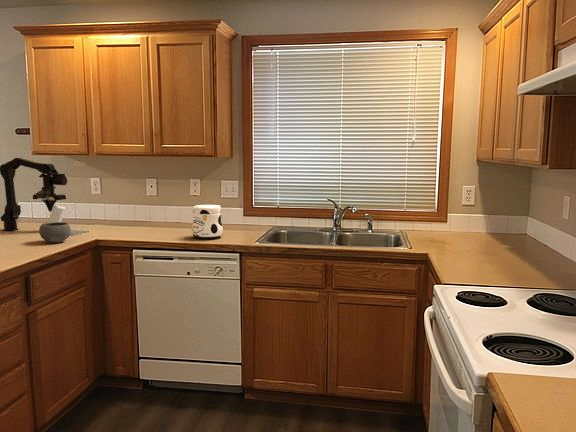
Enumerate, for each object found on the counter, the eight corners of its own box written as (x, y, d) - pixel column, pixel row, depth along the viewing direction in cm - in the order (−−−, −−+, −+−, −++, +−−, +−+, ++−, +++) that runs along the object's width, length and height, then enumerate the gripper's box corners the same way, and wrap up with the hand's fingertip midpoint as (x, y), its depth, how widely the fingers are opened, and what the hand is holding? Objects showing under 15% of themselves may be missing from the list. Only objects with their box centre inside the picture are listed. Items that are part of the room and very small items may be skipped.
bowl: (62, 238, 273) (61, 220, 272) (76, 242, 264) (75, 223, 262) (34, 242, 262) (33, 223, 260) (48, 246, 252) (47, 226, 251)
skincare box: (55, 232, 291) (63, 209, 290) (44, 229, 289) (52, 205, 288) (58, 230, 299) (66, 207, 298) (48, 227, 297) (56, 204, 297)
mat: (49, 234, 286) (49, 233, 286) (65, 230, 300) (65, 229, 300) (74, 235, 283) (74, 234, 283) (89, 231, 296) (89, 230, 296)
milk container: (187, 239, 275) (187, 207, 273) (197, 234, 292) (197, 204, 290) (217, 240, 273) (217, 208, 270) (226, 235, 290) (225, 204, 287)
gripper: (24, 185, 285) (26, 212, 287) (52, 186, 281) (54, 213, 283) (38, 184, 295) (40, 210, 298) (65, 185, 291) (67, 211, 293)
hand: (50, 211), depth 293 cm, fingers closed
